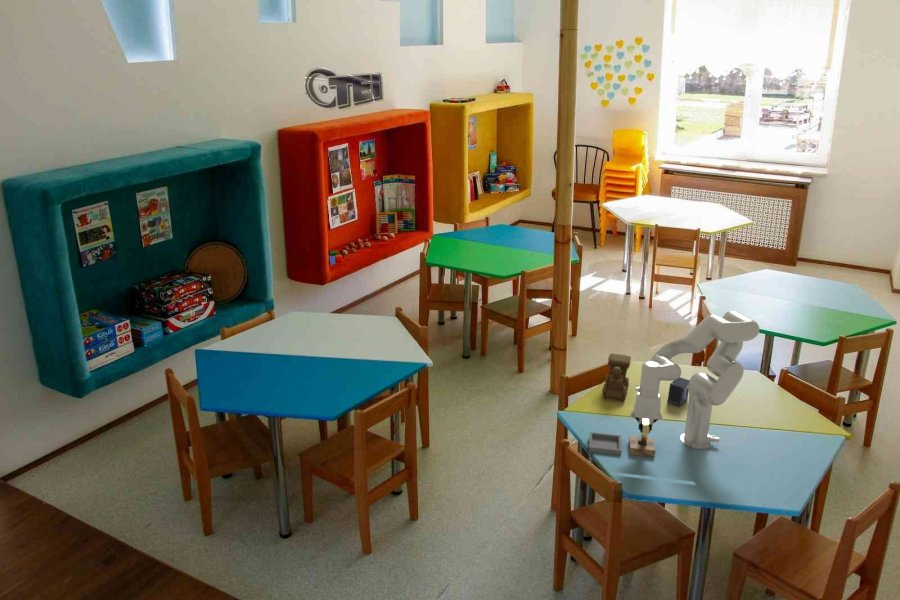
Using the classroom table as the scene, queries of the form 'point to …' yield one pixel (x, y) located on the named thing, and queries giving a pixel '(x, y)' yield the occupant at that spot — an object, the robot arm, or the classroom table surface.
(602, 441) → the tray
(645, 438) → the t key
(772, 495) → the classroom table surface
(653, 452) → the socket block
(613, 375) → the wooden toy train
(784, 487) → the classroom table surface
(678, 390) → the small box
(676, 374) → the robot arm
